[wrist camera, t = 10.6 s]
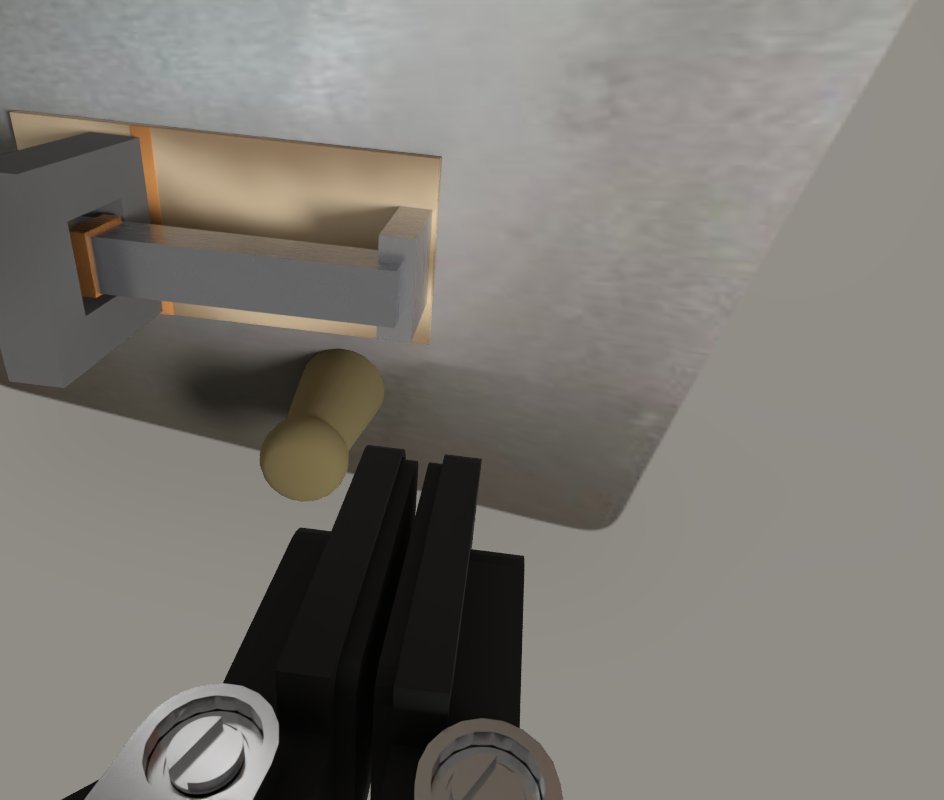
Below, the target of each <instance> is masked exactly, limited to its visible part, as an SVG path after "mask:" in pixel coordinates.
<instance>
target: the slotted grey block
mask: <svg viewBox="0 0 944 800" xmlns="http://www.w3.org/2000/svg"><path fill="white" fill-rule="evenodd" d="M103 214H106V215H114V216H121V221H127V222H136V223H145V224H151V221H150V214H149V206H148V199H147V192H146V184H145V177H144V170H143V162H142V155H141V148H140V140H139V137H132V136H123V135H114V134H104V133H95V132H87V133H83V134H79V135H75V136H71V137H68V138H64V139H60V140H56V141H52V142H48V143H44V144H40V145H37V146H33V147H29V148H25V149H21V150H17V151H13V152H9V153H6V154H2V155H0V348H1V352H2V355H3V359H4V363H5V367H6V370H7V374H8V378H9V381H11V382H20V383H28V384H36V385H44V386H52V387H61V388H65V387H66V386H68V385H69V384H70V383H71V382H73V381H74V380H75V379H77V378H78V377H79V376H80V375H82V374H83V373H84V372H86V371H87V370H88V369H89V368H91V367H92V366H93V365H94V364H96V363H97V362H98V361H100V360H101V359H102V358H103V357H105V356H106V355H107V354H109V353H110V352H111V351H112V350H114V349H115V348H116V347H118V346H119V345H120V344H121V343H123V342H124V341H125V340H126V339H128V338H129V337H130V336H132V335H133V334H134V333H135V332H137V331H138V330H139V329H141V328H142V327H143V326H144V325H146V324H147V323H148V322H149V321H151V320H152V319H153V318H155V317H156V316H157V315H158V314H160V313H161V312H162V311H163V309H162V301H159V300H150V299H142V298H133V297H125V296H116V295H108V294H102V295H100V296H99V297H97V298H92V297H83V296H82V295H81V290H80V284H79V279H78V274H77V269H76V264H75V259H74V254H73V249H72V244H71V238H70V233H69V228H68V223H67V222H68V221H70V220H72V219H74V218H77V217H79V216H83V217H92V218H96V217H98V216H101V215H103Z"/></svg>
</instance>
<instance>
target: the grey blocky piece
mask: <svg viewBox="0 0 944 800" xmlns="http://www.w3.org/2000/svg"><path fill="white" fill-rule="evenodd" d="M432 213H433V210H430V209H421V208H412V207H403V206H400V207H399V208H398V210H397V211H396V212H395V214H394V215H393V216H392V218H391V219H390V221H389V222H388V223H387V225H386V226H385V227H384V229H383V230H382V231H381V233H380V234H379V247H378V250H373V249H365V248H356V247H347V246H338V245H329V244H321V243H312V242H303V241H294V240H285V239H277V238H268V237H259V236H250V235H241V234H233V233H224V232H215V231H206V230H198V229H189V228H180V227H171V226H162V225H154V224H145V223H136V222H127V221H121V216H114V215H106V214H103V215H101V216H98V217H96V218H92V217H83V216H79V217H77V218H74V219H72V220H70V221H68V222H67V223H68V228H69V233H70V238H71V244H72V249H73V254H74V259H75V264H76V269H77V274H78V279H79V284H80V290H81V295H82V296H83V297H92V298H97V297H99V296H100V295H102V294H108V295H116V296H125V297H133V298H142V299H150V300H159V301H167V302H176V303H184V304H193V305H201V306H210V307H218V308H227V309H235V310H244V311H252V312H261V313H270V314H278V315H287V316H295V317H304V318H312V319H321V320H329V321H338V322H346V323H355V324H363V325H372V326H377V331H376V339H384V340H393V341H401V342H410V343H411V341H412V339H413V336H414V334H415V331H416V329H417V326H418V324H419V321H420V319H421V316H422V314H423V311H424V309H425V306H426V304H427V294H428V278H429V262H430V245H431V229H432Z"/></svg>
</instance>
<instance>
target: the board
mask: <svg viewBox="0 0 944 800" xmlns="http://www.w3.org/2000/svg"><path fill="white" fill-rule="evenodd" d="M10 117H11V121H12V126H13V130H14V135H15V140H16V144H17V149H18V150H21V149H25V148H29V147H33V146H37V145H40V144H44V143H48V142H52V141H56V140H60V139H64V138H68V137H71V136H75V135H79V134H83V133H87V132H95V133H104V134H114V135H123V136H132V137H139V140H140V148H141V155H142V162H143V170H144V177H145V184H146V192H147V199H148V206H149V214H150V221H151V224H154V225H162V226H171V227H180V228H189V229H198V230H206V231H215V232H224V233H233V234H241V235H250V236H259V237H268V238H277V239H285V240H294V241H303V242H312V243H321V244H329V245H338V246H347V247H356V248H365V249H373V250H378V247H379V234H380V233H381V231H382V230H383V229H384V227H385V226H386V225H387V223H388V222H389V221H390V219H391V218H392V216H393V215H394V214H395V212H396V211H397V210H398V208H399V207H400V206H403V207H412V208H421V209H430V210H433V213H432V229H431V245H430V262H429V278H428V294H427V304H426V306H425V309H424V311H423V314H422V316H421V319H420V321H419V324H418V326H417V329H416V331H415V334H414V336H413V339H412V341H411V343H418V344H427V345H428V344H429V341H430V329H431V314H432V298H433V283H434V268H435V252H436V237H437V221H438V206H439V191H440V175H441V160H442V157H441V156H432V155H422V154H413V153H404V152H395V151H386V150H377V149H367V148H358V147H349V146H340V145H331V144H322V143H312V142H303V141H294V140H285V139H276V138H267V137H257V136H248V135H239V134H230V133H221V132H212V131H202V130H193V129H184V128H175V127H166V126H157V125H147V124H138V123H129V122H120V121H111V120H102V119H92V118H83V117H74V116H65V115H56V114H47V113H37V112H28V111H19V110H18V111H12V112H10ZM162 309H163V311H162V312H161V313H160V314H168V315H181V316H189V317H198V318H206V319H215V320H223V321H232V322H240V323H249V324H257V325H266V326H274V327H283V328H291V329H299V330H308V331H316V332H325V333H333V334H342V335H350V336H359V337H367V338H376V331H377V326H372V325H363V324H355V323H346V322H338V321H329V320H321V319H312V318H304V317H295V316H287V315H278V314H270V313H261V312H252V311H244V310H235V309H227V308H218V307H210V306H201V305H193V304H184V303H176V302H167V301H162Z"/></svg>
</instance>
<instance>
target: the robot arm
mask: <svg viewBox="0 0 944 800" xmlns="http://www.w3.org/2000/svg"><path fill="white" fill-rule="evenodd" d="M481 461H482V459H479V458H470V457H462V456H454V455H446V454H445V456H444V460H443V464H438V463H430V462H429V464H428V468H427V472H426V476H425V480H424V484H423V488H422V492H421V496H420V500H419V504H418V508H417V512H416V516H415V511H416V495H417V479H418V461H414V460H406V455H405V450H404V449H397V448H389V447H381V446H373V445H367V446H366V448H365V450H364V452H363V455H362V457H361V460H360V462H359V465H358V467H357V469H356V472H355V474H354V477H353V479H352V482H351V484H350V487H349V490H348V492H347V494H346V497H345V499H344V502H343V504H342V506H341V509H340V511H339V514H338V517H337V519H336V521H335V524H334V526H333V529H332V531H324V530H316V529H307V528H299V529H298V530H297V531H296V532H295V534H294V535H293V537H292V539H291V541H290V543H289V545H288V548H287V549H286V552H285V554H284V556H283V558H282V560H281V562H280V564H279V566H278V569H277V571H276V573H275V575H274V577H273V579H272V581H271V583H270V585H269V587H268V589H267V592H266V594H265V596H264V598H263V600H262V602H261V604H260V606H259V608H258V610H257V613H256V615H255V617H254V619H253V621H252V623H251V625H250V627H249V629H248V631H247V634H246V636H245V638H244V640H243V642H242V644H241V646H240V648H239V650H238V652H237V654H236V657H235V659H234V661H233V663H232V665H231V667H230V669H229V671H228V673H227V675H226V678H225V680H224V682H223V683H218V684H211V685H203V686H198V687H195V688H193V689H190V690H187V691H185V692H182V693H179V694H177V695H175V696H174V697H172V698H171V699H169V700H168V701H166V702H165V703H163V704H162V705H160V706H159V707H157V708H156V709H155V710H154V711H153V712H152V713H151V714H150V715H149V716H148V717H147V718H146V719H145V720H144V722H143V723H142V724H141V725H140V726H139V727H138V729H137V730H136V731H135V733H134V734H133V735H132V737H131V738H130V739H129V741H128V742H127V743H126V745H125V746H124V747H123V749H122V750H121V751H120V753H119V754H118V756H117V757H116V758H115V759H114V761H113V762H112V763H111V765H110V766H109V767H108V769H107V770H106V771H105V773H104V774H103V775H102V777H101V778H100V779H99V780H97V781H95V782H94V783H92V784H90V785H88V786H86V787H84V788H82V789H80V790H79V791H77V792H75V793H73V794H71V795H69V796H67V797H66V798H64V799H62V800H367V797H368V793H369V788H370V784H371V799H370V800H563V796H562V790H561V784H560V781H559V778H558V775H557V772H556V769H555V766H554V763H553V761H552V760H551V758H550V757H549V755H548V754H547V752H546V751H545V750H544V748H543V747H542V745H541V744H540V743H539V742H538V741H536V740H535V739H534V738H533V737H531V736H530V735H529V734H528V733H526V732H525V731H524V730H523V729H520V693H521V660H522V629H523V625H522V624H523V593H524V556H520V555H512V554H504V553H496V552H489V551H480V550H473V549H471V548H472V540H473V531H474V522H475V513H476V505H477V496H478V488H479V479H480V470H481Z"/></svg>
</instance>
